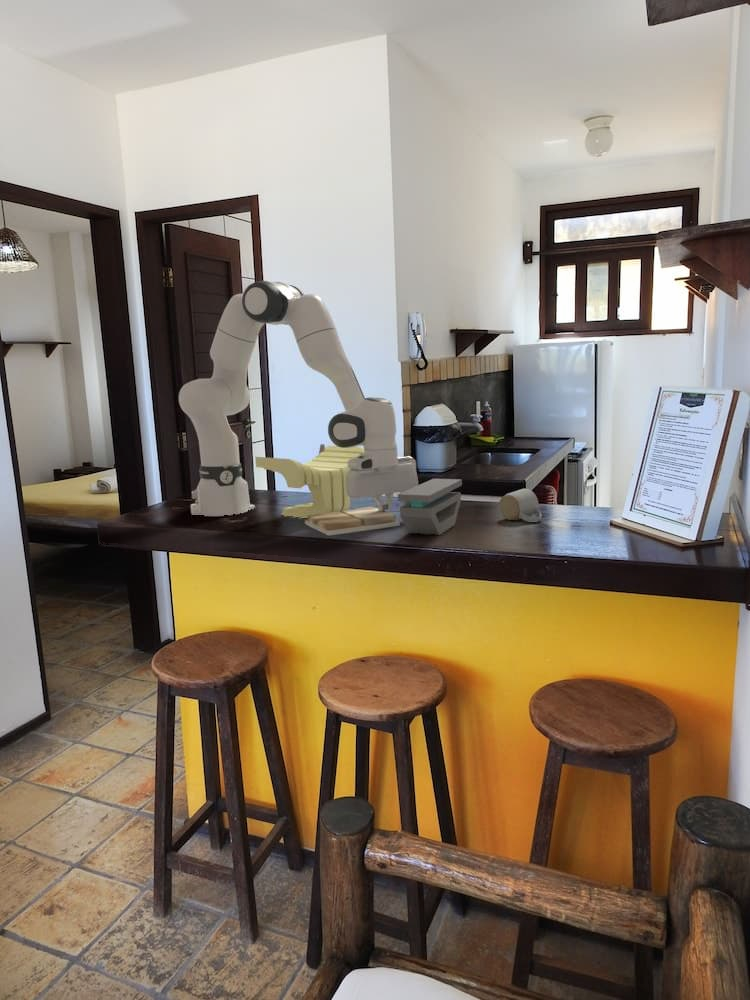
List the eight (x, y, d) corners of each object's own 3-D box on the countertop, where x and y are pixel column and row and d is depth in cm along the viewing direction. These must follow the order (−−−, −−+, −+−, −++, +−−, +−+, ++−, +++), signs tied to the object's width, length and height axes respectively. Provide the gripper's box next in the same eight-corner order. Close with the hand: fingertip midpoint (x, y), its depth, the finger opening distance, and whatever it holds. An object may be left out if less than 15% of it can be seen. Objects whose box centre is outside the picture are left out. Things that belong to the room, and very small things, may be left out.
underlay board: (305, 524, 189) (304, 520, 189) (372, 515, 198) (372, 511, 197) (328, 535, 175) (328, 531, 175) (399, 525, 183) (399, 521, 183)
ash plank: (342, 516, 192) (342, 511, 192) (372, 511, 196) (371, 506, 196) (364, 525, 180) (364, 519, 180) (396, 520, 184) (395, 514, 184)
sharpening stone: (430, 541, 166) (429, 495, 164) (399, 539, 169) (397, 494, 167) (462, 520, 188) (461, 479, 186) (434, 518, 191) (433, 478, 189)
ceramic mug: (496, 519, 187) (496, 490, 186) (516, 514, 193) (516, 486, 191) (528, 525, 179) (529, 496, 178) (548, 520, 185) (549, 491, 183)
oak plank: (307, 521, 188) (307, 515, 188) (339, 517, 192) (338, 511, 192) (328, 530, 176) (328, 524, 175) (361, 526, 180) (361, 520, 179)
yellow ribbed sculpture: (301, 527, 186) (298, 459, 182) (259, 521, 195) (255, 456, 192) (371, 507, 209) (369, 447, 206) (330, 503, 219) (328, 445, 215)
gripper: (409, 454, 195) (411, 504, 197) (341, 462, 186) (345, 514, 188) (421, 456, 189) (423, 507, 191) (351, 464, 180) (355, 517, 182)
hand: (384, 510), depth 190 cm, fingers closed, pressing on ash plank
